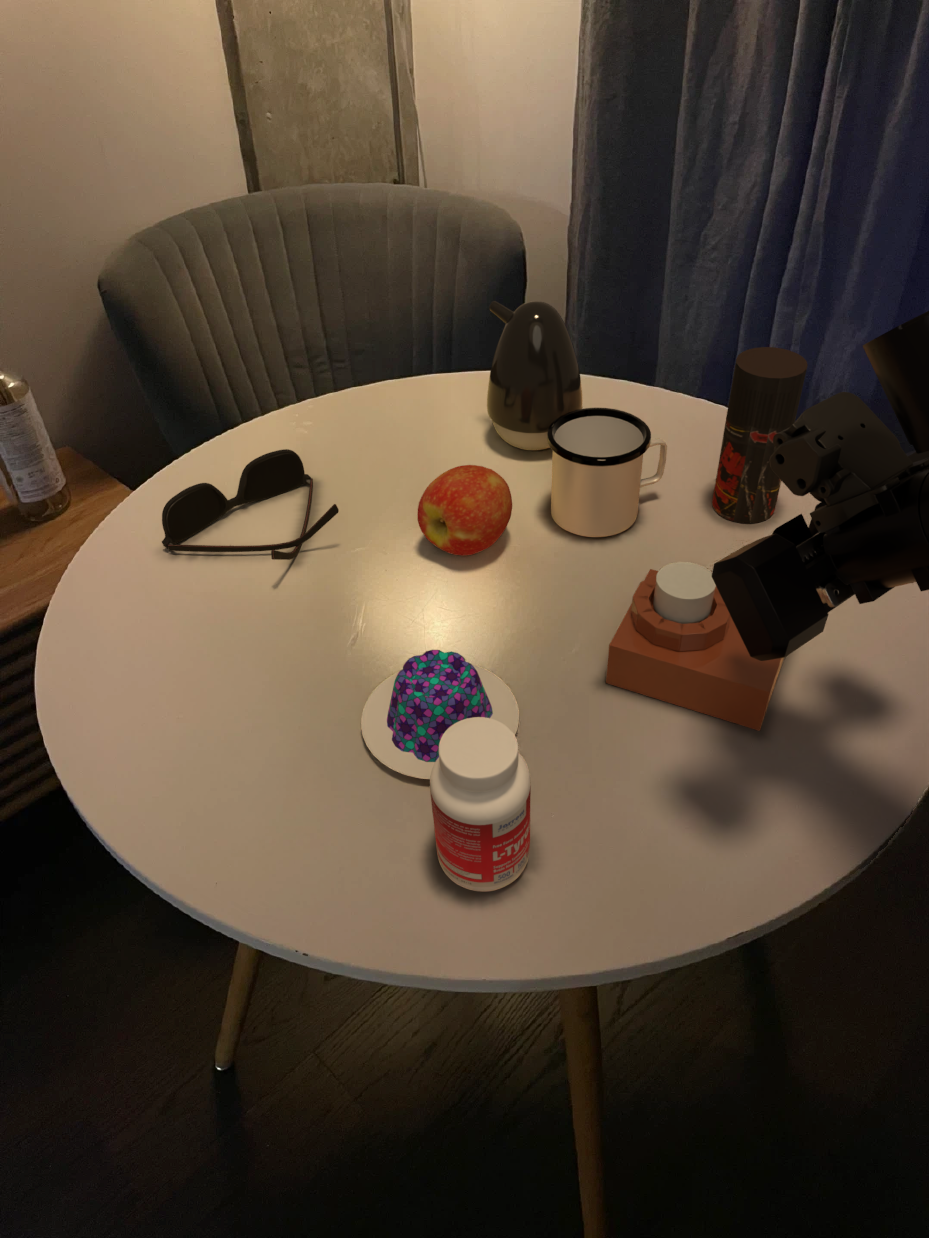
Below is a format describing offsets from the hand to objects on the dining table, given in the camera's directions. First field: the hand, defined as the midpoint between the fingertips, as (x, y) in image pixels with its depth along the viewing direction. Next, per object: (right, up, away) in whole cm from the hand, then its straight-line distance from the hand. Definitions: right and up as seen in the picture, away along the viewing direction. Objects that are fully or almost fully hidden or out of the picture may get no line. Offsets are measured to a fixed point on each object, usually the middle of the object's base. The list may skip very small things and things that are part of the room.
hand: (752, 575), depth 60 cm
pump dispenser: (-12, +17, +38) cm, 43 cm away
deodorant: (+8, +8, +26) cm, 29 cm away
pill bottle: (-18, -19, -1) cm, 26 cm away
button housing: (-1, -7, +11) cm, 13 cm away
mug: (-6, +7, +27) cm, 28 cm away
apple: (-19, +4, +24) cm, 31 cm away
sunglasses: (-38, +5, +26) cm, 47 cm away
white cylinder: (-3, -2, +8) cm, 8 cm away
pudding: (-21, -11, +7) cm, 25 cm away
